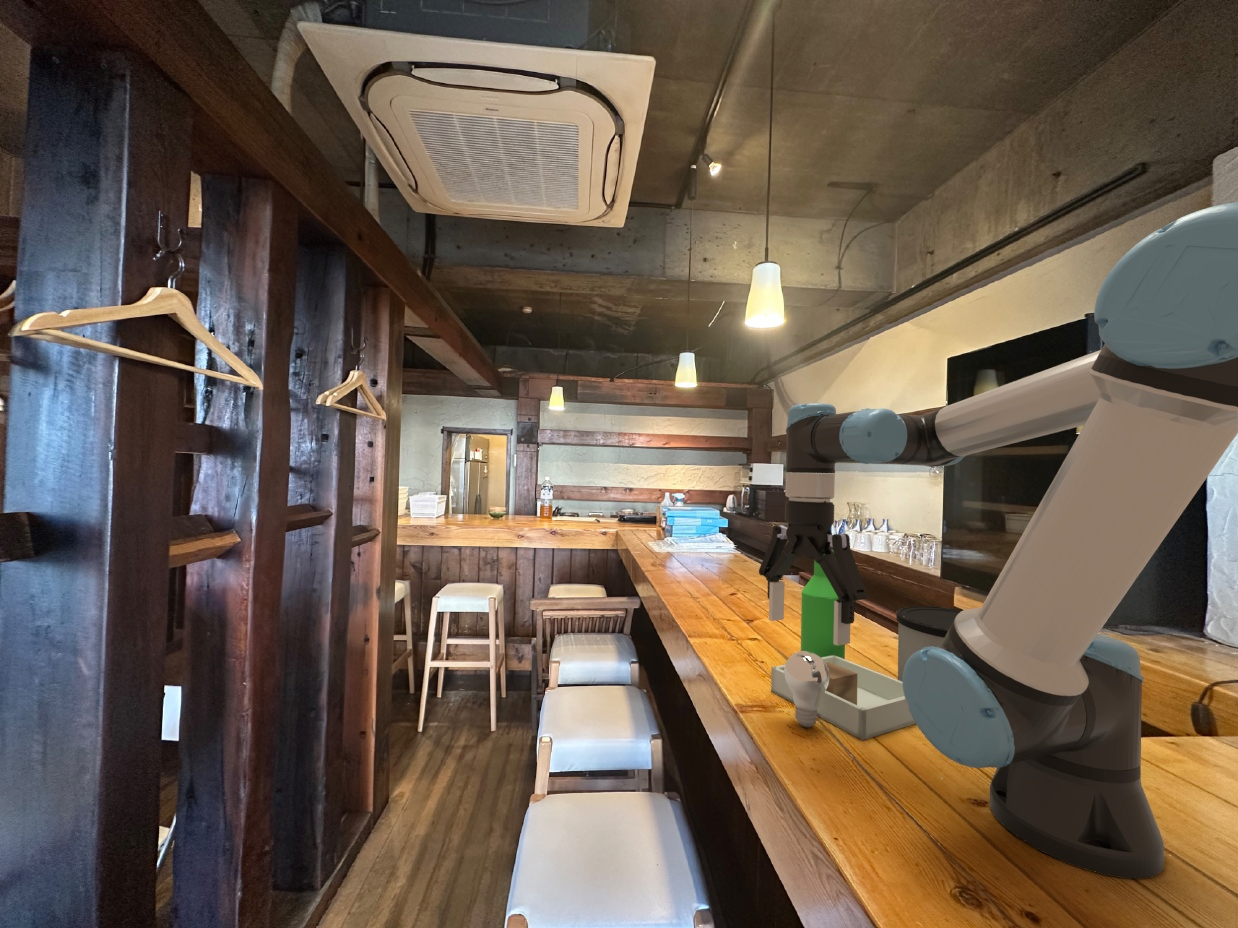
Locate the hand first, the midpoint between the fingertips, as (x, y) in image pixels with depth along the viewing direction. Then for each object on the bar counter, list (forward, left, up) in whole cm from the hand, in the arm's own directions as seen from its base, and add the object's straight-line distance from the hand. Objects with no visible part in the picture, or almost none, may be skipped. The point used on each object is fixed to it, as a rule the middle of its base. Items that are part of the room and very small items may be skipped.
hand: (806, 631), depth 84 cm
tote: (+3, -13, -15) cm, 20 cm away
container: (-4, -33, -16) cm, 37 cm away
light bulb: (0, 0, -16) cm, 16 cm away
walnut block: (+3, -9, -15) cm, 18 cm away
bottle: (+18, -24, -16) cm, 34 cm away
